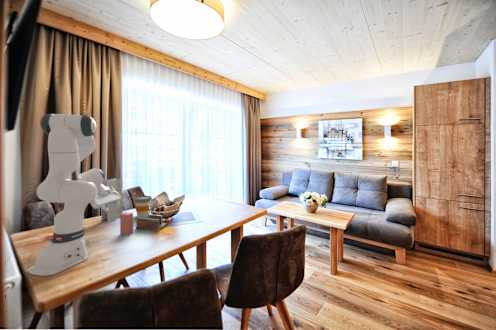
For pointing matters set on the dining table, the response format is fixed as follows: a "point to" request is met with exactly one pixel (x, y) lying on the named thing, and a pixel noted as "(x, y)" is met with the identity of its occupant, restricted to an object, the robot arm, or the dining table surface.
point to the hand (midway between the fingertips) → (114, 208)
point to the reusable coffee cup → (142, 206)
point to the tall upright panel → (113, 211)
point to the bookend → (156, 217)
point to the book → (126, 223)
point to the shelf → (149, 224)
